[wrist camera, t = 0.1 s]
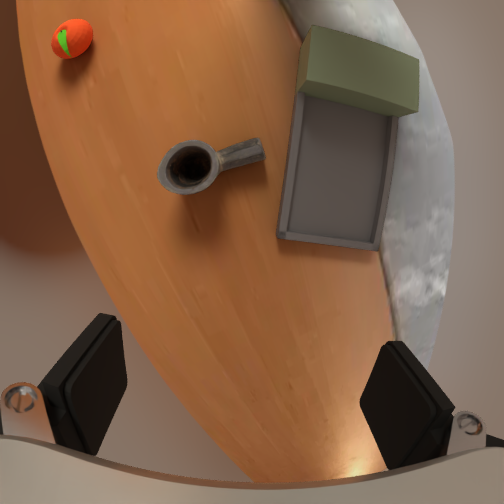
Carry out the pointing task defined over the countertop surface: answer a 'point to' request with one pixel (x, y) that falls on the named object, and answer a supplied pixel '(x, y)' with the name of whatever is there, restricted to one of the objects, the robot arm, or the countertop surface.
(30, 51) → the countertop surface
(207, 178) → the pipe
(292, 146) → the gray tray
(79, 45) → the clementine
